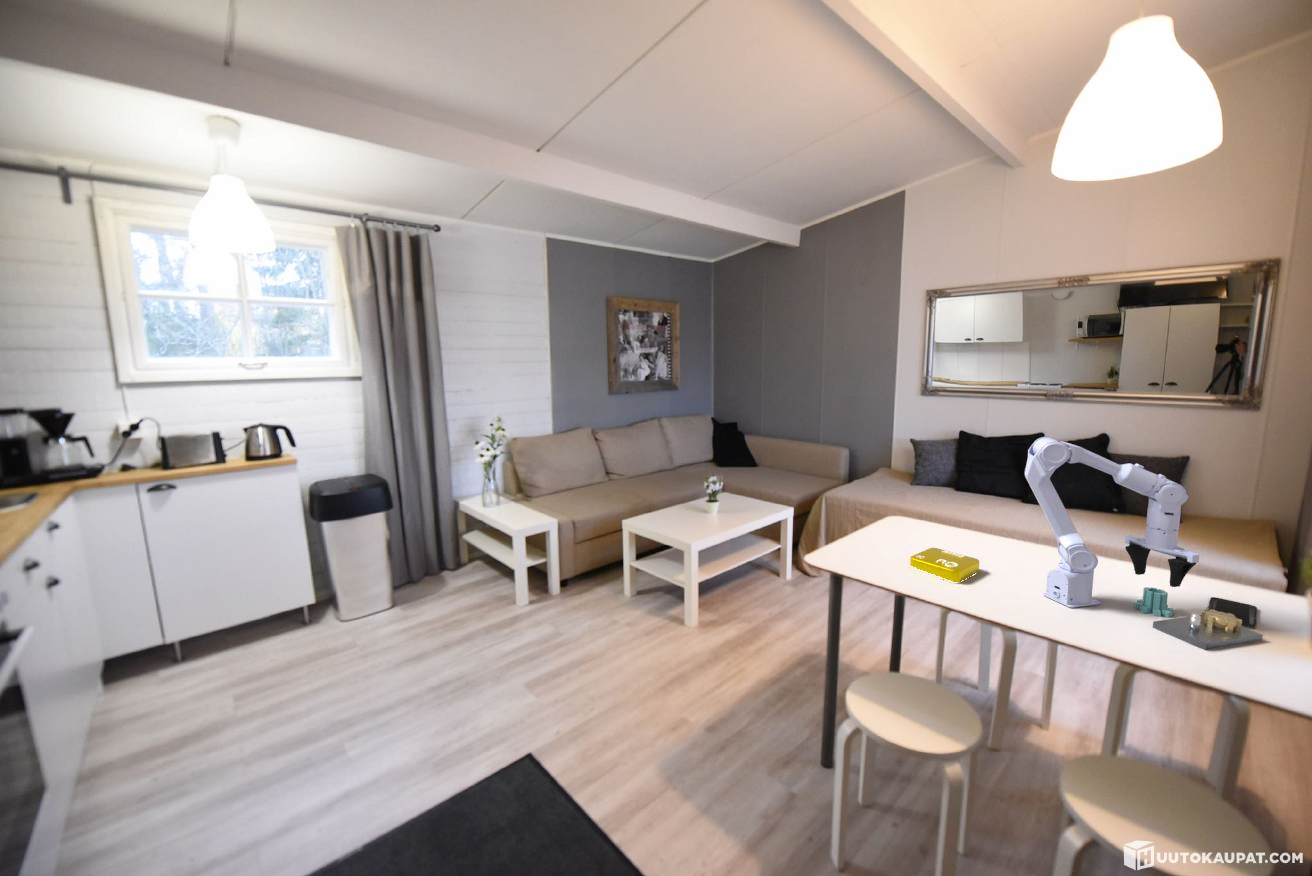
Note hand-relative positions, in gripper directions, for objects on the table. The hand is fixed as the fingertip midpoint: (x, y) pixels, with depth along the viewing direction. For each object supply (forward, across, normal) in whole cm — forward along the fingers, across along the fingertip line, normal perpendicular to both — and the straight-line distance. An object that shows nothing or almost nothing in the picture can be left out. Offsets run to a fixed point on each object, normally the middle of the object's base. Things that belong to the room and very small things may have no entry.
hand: (1156, 579), depth 126 cm
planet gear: (+8, 0, 0) cm, 8 cm away
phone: (+9, -6, -16) cm, 19 cm away
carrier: (+8, -12, +2) cm, 14 cm away
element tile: (+9, +35, +31) cm, 47 cm away
